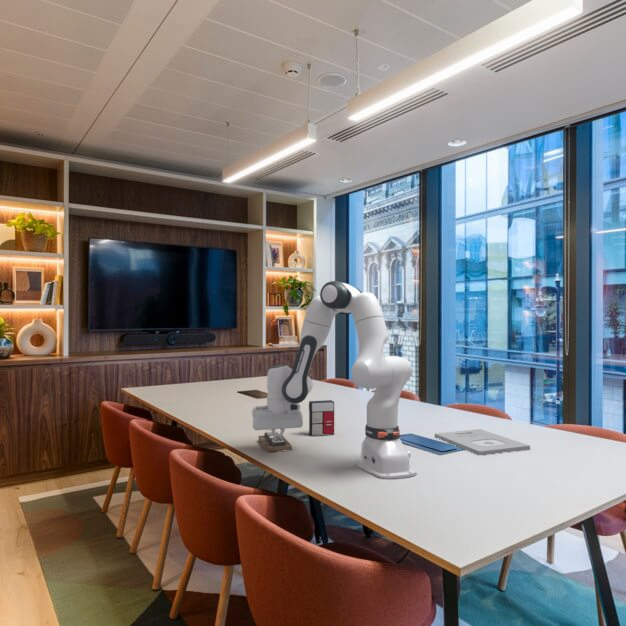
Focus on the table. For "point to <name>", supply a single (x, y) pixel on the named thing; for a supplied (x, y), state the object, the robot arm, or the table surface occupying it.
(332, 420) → the calculator
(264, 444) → the key panel
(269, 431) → the key two
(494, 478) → the table surface
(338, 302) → the robot arm
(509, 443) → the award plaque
